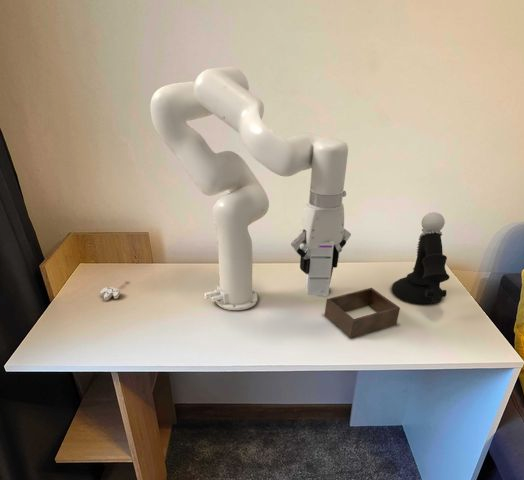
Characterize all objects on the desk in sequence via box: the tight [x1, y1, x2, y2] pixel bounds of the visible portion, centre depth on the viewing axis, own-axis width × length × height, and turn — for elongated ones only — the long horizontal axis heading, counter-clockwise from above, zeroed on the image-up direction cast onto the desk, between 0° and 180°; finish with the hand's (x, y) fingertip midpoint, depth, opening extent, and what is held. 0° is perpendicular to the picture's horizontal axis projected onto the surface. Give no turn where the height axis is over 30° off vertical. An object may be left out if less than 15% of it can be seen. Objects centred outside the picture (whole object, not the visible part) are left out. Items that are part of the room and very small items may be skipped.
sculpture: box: [391, 211, 451, 306], centre depth 130 cm, size 15×24×25 cm, turn 0°
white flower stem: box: [99, 281, 126, 302], centre depth 138 cm, size 6×12×3 cm, turn 179°
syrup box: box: [305, 241, 334, 297], centre depth 114 cm, size 6×6×14 cm
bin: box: [324, 287, 401, 339], centre depth 126 cm, size 16×13×6 cm
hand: (318, 268), depth 115 cm, fingers closed on syrup box, 7 cm apart
